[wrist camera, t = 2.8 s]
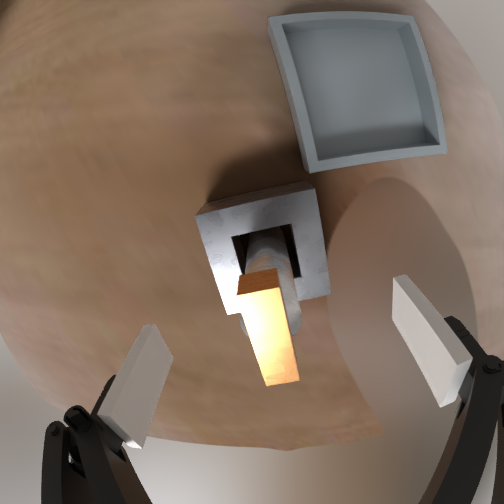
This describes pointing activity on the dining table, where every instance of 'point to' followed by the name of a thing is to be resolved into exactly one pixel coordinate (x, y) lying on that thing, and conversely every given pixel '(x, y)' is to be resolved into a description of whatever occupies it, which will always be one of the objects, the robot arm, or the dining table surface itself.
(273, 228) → the t key
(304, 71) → the tray
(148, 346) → the robot arm
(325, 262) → the block
